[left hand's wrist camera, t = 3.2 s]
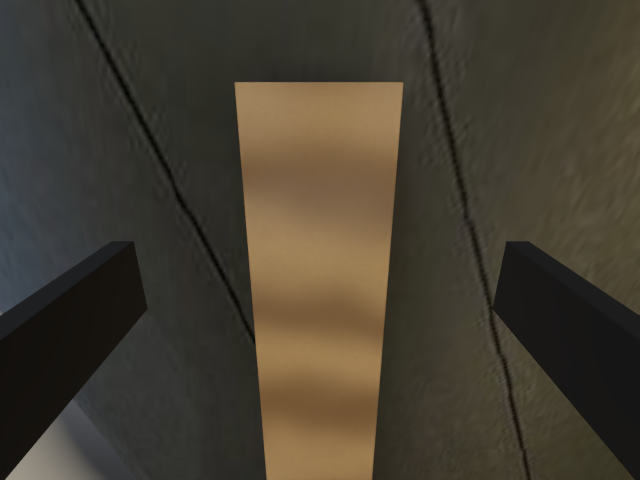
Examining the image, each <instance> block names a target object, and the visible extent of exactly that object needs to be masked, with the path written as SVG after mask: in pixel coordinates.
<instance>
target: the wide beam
mask: <svg viewBox="0 0 640 480" xmlns="http://www.w3.org/2000/svg"><path fill="white" fill-rule="evenodd" d="M235 94H236V106H237V119H238V131H239V143H240V155H241V168H242V180H243V192H244V205H245V217H246V229H247V241H248V254H249V266H250V278H251V291H252V303H253V315H254V327H255V340H256V352H257V364H258V377H259V389H260V401H261V413H262V426H263V438H264V450H265V463H266V475H267V480H372V472H373V460H374V447H375V434H376V422H377V409H378V397H379V384H380V372H381V359H382V346H383V334H384V321H385V309H386V296H387V284H388V271H389V258H390V246H391V233H392V221H393V208H394V196H395V183H396V170H397V158H398V145H399V133H400V120H401V108H402V95H403V82H235Z"/></svg>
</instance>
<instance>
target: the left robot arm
mask: <svg viewBox="0 0 640 480" xmlns="http://www.w3.org/2000/svg"><path fill="white" fill-rule="evenodd" d="M146 310H147V304H146V299H145V294H144V290H143V285H142V280H141V275H140V270H139V266H138V261H137V256H136V251H135V247H134V242H133V241H111V242H110V243H108V244H107V245H106V246H104V247H103V248H101V249H100V250H98V251H97V252H95V253H94V254H92V255H91V256H89V257H88V258H86V259H85V260H83V261H82V262H80V263H79V264H77V265H76V266H74V267H73V268H71V269H70V270H68V271H67V272H65V273H64V274H62V275H61V276H59V277H58V278H56V279H55V280H53V281H52V282H50V283H49V284H47V285H46V286H44V287H43V288H41V289H40V290H38V291H37V292H35V293H34V294H32V295H31V296H29V297H28V298H26V299H25V300H23V301H22V302H20V303H19V304H17V305H16V306H14V307H13V308H11V309H10V310H8V311H7V312H5V313H4V314H2V315H1V316H0V480H5V479H6V478H7V477H8V475H9V474H10V473H11V472H12V471H13V469H14V468H15V467H16V466H17V464H18V463H19V462H20V461H21V460H22V459H23V457H24V456H25V455H26V454H27V453H28V451H29V450H30V449H31V448H32V447H33V445H34V444H35V443H36V442H37V441H38V439H39V438H40V437H41V436H42V435H43V433H44V432H45V431H46V430H47V429H48V427H49V426H50V425H51V424H52V423H53V421H54V420H55V419H56V418H57V417H58V415H59V414H60V413H61V412H62V411H63V409H64V408H65V407H66V406H67V405H68V403H69V402H70V401H71V400H72V399H73V397H74V396H75V395H76V394H77V393H78V391H79V390H80V389H81V388H82V387H83V385H84V384H85V383H86V382H87V381H88V379H89V378H90V377H91V376H92V375H93V373H94V372H95V371H96V370H97V369H98V367H99V366H100V365H101V364H102V363H103V361H104V360H105V359H106V358H107V357H108V355H109V354H110V353H111V352H112V351H113V350H114V348H115V347H116V346H117V345H118V344H119V342H120V341H121V340H122V339H123V338H124V336H125V335H126V334H127V333H128V332H129V330H130V329H131V328H132V327H133V326H134V324H135V323H136V322H137V321H138V320H139V318H140V317H141V316H142V315H143V314H144V312H145V311H146ZM493 310H494V311H495V312H496V314H497V315H498V316H499V317H500V318H501V320H502V321H503V322H504V323H505V324H506V326H507V327H508V328H509V329H510V330H511V332H512V333H513V334H514V335H515V336H516V338H517V339H518V340H519V341H520V342H521V344H522V345H523V346H524V347H525V348H526V350H527V351H528V352H529V353H530V354H531V355H532V357H533V358H534V359H535V360H536V361H537V363H538V364H539V365H540V366H541V367H542V369H543V370H544V371H545V372H546V373H547V375H548V376H549V377H550V378H551V379H552V381H553V382H554V383H555V384H556V385H557V387H558V388H559V389H560V390H561V391H562V393H563V394H564V395H565V396H566V397H567V399H568V400H569V401H570V402H571V403H572V405H573V406H574V407H575V408H576V409H577V411H578V412H579V413H580V414H581V415H582V417H583V418H584V419H585V420H586V421H587V423H588V424H589V425H590V426H591V427H592V429H593V430H594V431H595V432H596V433H597V435H598V436H599V437H600V438H601V439H602V441H603V442H604V443H605V444H606V445H607V447H608V448H609V449H610V450H611V451H612V453H613V454H614V455H615V456H616V457H617V459H618V460H619V461H620V462H621V463H622V465H623V466H624V467H625V468H626V469H627V471H628V472H629V473H630V474H631V475H632V477H633V478H634V479H635V480H640V315H638V314H636V313H635V312H633V311H632V310H630V309H629V308H627V307H626V306H624V305H623V304H621V303H620V302H618V301H617V300H615V299H614V298H612V297H611V296H609V295H608V294H606V293H605V292H603V291H602V290H600V289H599V288H597V287H596V286H594V285H593V284H591V283H590V282H588V281H587V280H585V279H584V278H582V277H581V276H579V275H578V274H576V273H575V272H573V271H572V270H570V269H569V268H567V267H566V266H564V265H563V264H561V263H560V262H558V261H557V260H555V259H554V258H552V257H551V256H549V255H548V254H546V253H545V252H543V251H542V250H540V249H539V248H537V247H536V246H534V245H533V244H531V243H530V242H529V241H507V242H506V247H505V251H504V256H503V261H502V266H501V270H500V275H499V280H498V285H497V290H496V294H495V299H494V304H493Z"/></svg>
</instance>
